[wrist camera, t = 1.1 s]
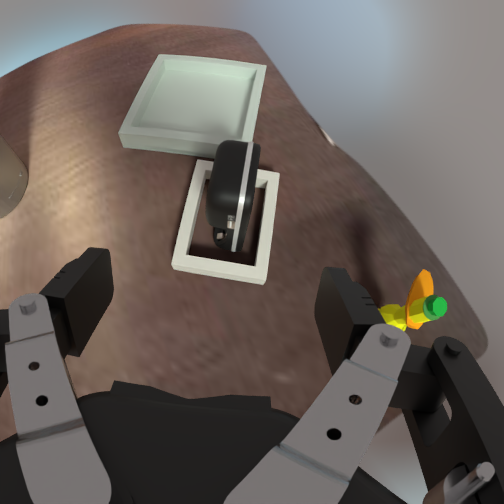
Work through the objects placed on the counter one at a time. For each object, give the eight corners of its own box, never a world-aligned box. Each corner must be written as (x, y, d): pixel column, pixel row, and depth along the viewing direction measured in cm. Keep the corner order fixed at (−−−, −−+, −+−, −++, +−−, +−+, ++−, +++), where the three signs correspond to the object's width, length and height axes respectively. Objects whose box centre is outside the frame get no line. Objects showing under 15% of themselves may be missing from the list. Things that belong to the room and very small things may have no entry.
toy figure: (372, 284, 35) (434, 250, 23) (397, 295, 35) (463, 267, 23) (354, 340, 33) (417, 328, 21) (381, 350, 32) (449, 342, 21)
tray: (123, 147, 37) (118, 133, 34) (160, 68, 42) (159, 54, 39) (247, 164, 38) (250, 149, 35) (263, 80, 43) (266, 65, 40)
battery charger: (216, 192, 36) (217, 127, 25) (249, 197, 36) (263, 134, 26) (205, 250, 34) (201, 199, 23) (240, 255, 34) (252, 207, 23)
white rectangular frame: (173, 269, 33) (171, 264, 31) (198, 168, 37) (197, 159, 35) (263, 284, 33) (266, 280, 32) (276, 182, 38) (279, 173, 36)
